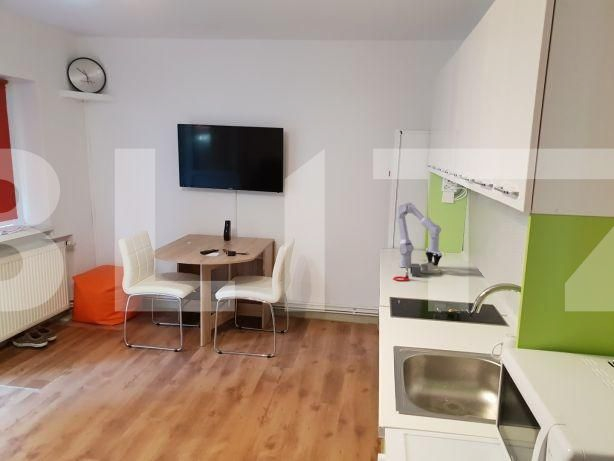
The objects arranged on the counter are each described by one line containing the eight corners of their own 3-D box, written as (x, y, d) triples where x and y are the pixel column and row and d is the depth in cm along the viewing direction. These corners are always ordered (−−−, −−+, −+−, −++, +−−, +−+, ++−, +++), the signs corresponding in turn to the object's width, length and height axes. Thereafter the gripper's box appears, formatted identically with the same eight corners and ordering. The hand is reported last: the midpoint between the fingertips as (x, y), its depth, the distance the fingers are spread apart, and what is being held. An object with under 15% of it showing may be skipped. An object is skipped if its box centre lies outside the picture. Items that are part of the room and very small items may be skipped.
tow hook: (394, 282, 264) (409, 281, 264) (394, 261, 262) (409, 261, 262) (392, 278, 273) (407, 277, 272) (392, 258, 271) (407, 257, 270)
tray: (411, 269, 292) (411, 266, 292) (438, 269, 291) (438, 266, 290) (413, 272, 283) (413, 270, 282) (441, 273, 281) (441, 270, 281)
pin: (421, 271, 279) (421, 264, 279) (431, 268, 288) (431, 261, 288) (428, 271, 276) (427, 264, 276) (438, 268, 285) (437, 261, 285)
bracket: (410, 272, 283) (410, 263, 282) (418, 272, 283) (418, 263, 282) (412, 276, 274) (412, 267, 273) (420, 276, 274) (420, 267, 273)
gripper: (422, 242, 288) (421, 262, 291) (435, 246, 275) (434, 267, 277) (431, 241, 291) (430, 261, 293) (445, 245, 277) (443, 266, 280)
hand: (433, 264), depth 285 cm, fingers closed on pin, 6 cm apart
